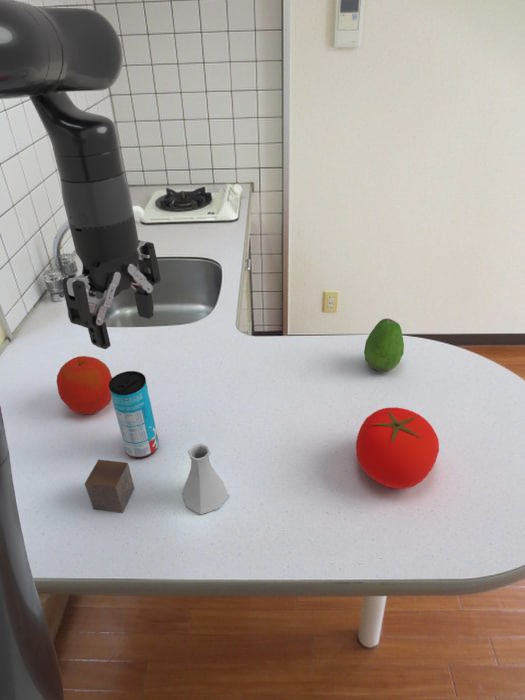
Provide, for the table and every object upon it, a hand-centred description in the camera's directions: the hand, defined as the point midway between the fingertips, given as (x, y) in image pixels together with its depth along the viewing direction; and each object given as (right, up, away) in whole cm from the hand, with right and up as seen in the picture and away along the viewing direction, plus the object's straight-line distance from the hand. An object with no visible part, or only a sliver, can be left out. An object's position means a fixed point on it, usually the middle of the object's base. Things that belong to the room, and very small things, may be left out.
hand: (125, 331), depth 70 cm
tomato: (+40, -23, +17) cm, 49 cm away
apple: (-15, -14, +33) cm, 39 cm away
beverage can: (-3, -20, +23) cm, 31 cm away
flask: (+9, -26, +14) cm, 31 cm away
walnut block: (-5, -26, +14) cm, 30 cm away
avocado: (+44, -6, +40) cm, 60 cm away
